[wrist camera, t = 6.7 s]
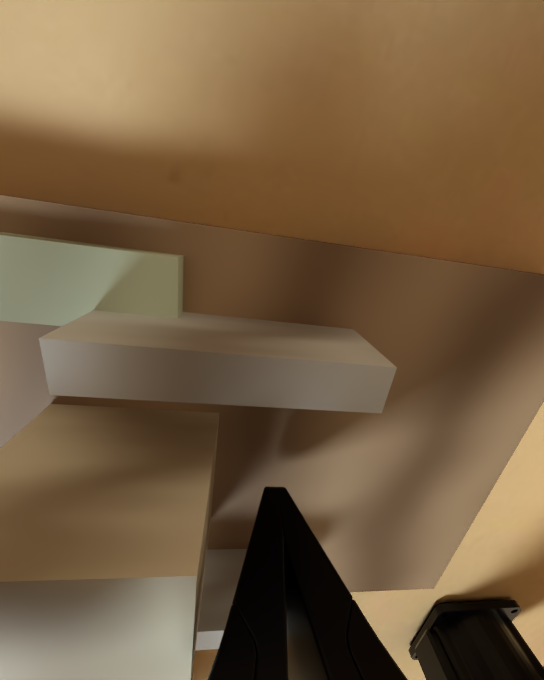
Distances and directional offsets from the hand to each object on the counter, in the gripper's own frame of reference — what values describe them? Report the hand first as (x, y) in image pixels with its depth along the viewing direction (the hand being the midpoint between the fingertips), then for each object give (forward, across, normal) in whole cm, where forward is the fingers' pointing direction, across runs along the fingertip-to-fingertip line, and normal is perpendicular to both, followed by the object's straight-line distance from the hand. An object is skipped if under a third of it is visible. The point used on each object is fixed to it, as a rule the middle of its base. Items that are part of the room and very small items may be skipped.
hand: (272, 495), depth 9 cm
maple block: (+1, +4, 0) cm, 5 cm away
